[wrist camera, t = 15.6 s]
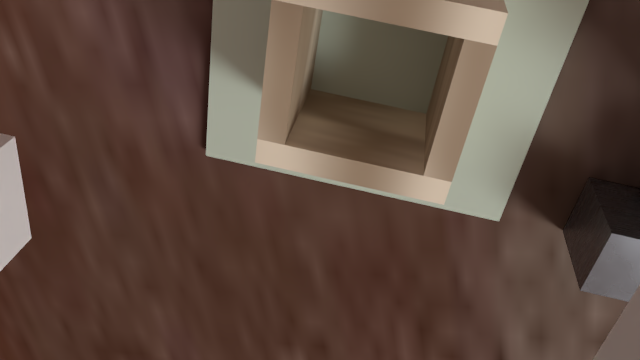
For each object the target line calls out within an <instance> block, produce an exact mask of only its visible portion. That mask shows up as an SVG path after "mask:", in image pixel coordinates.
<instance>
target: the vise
mask: <svg viewBox="0 0 640 360" xmlns="http://www.w3.org/2000/svg"><path fill="white" fill-rule="evenodd" d="M563 233H564V237H565V240H566V244H567V247H568V251H569V254H570V257H571V261H572V264H573V268H574V271H575V275H576V278H577V281H578V285H579V288H580V291H585V292H589V293H593V294H598V295H602V296H606V297H611V298H615V299H619V300H624V301H628V302H629V301H630V299H631V298H632V296H633V294H634V293H635V291H636V290H637V288H638V286H639V285H640V188H635V187H631V186H626V185H622V184H617V183H612V182H608V181H603V180H599V179H594V178H590V177H589V179H588V181H587V183H586V185H585V187H584V189H583V191H582V193H581V195H580V197H579V199H578V201H577V203H576V205H575V207H574V209H573V211H572V213H571V215H570V217H569V219H568V221H567V223H566V225H565V227H564V229H563Z"/></svg>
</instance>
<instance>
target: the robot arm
mask: <svg viewBox="0 0 640 360" xmlns="http://www.w3.org/2000/svg"><path fill="white" fill-rule="evenodd" d="M30 239H31V232H30V226H29V220H28V214H27V207H26V201H25V195H24V189H23V183H22V177H21V171H20V165H19V158H18V152H17V146H16V140H15V137H14V136H10V135H5V134H1V133H0V271H1V270H2V269H3V268H4V267H5V266H6V265H7V264H8V262H9V261H10V260H11V259H12V258H13V257H14V256H15V255H16V254H17V253H18V252H19V251H20V250H21V249H22V247H23V246H24V245H25V244H26V243H27V242H28V241H29V240H30ZM593 360H640V285H639V286H638V288H637V290H636V291H635V293H634V294H633V296H632V298H631V299H630V301H629V302H628V304H627V306H626V307H625V309H624V310H623V312H622V314H621V315H620V317H619V318H618V320H617V322H616V323H615V325H614V326H613V328H612V330H611V331H610V333H609V334H608V336H607V338H606V339H605V341H604V342H603V344H602V346H601V347H600V349H599V350H598V352H597V354H596V355H595V357H594V358H593Z"/></svg>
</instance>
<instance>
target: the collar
mask: <svg viewBox="0 0 640 360" xmlns="http://www.w3.org/2000/svg"><path fill="white" fill-rule="evenodd" d="M323 10H325V11H330V12H335V13H340V14H345V15H350V16H355V17H359V18H364V19H369V20H374V21H379V22H384V23H389V24H394V25H398V26H403V27H408V28H413V29H418V30H423V31H428V32H432V33H437V34H442V35H447V36H448V39H447V43H446V46H445V50H444V53H443V57H442V60H441V64H440V67H439V71H438V74H437V78H436V81H435V85H434V89H433V92H432V96H431V99H430V103H429V106H428V110H427V113H426V114H425V113H420V112H416V111H411V110H406V109H402V108H397V107H393V106H388V105H383V104H379V103H374V102H369V101H365V100H360V99H355V98H351V97H346V96H341V95H337V94H332V93H327V92H323V91H318V90H313V89H311V85H312V78H313V72H314V65H315V59H316V52H317V46H318V39H319V33H320V26H321V20H322V13H323ZM507 16H508V11H507V8H506V5H505V2H504V0H271V10H270V20H269V30H268V39H267V49H266V59H265V68H264V78H263V88H262V98H261V107H260V117H259V127H258V137H257V146H256V156H255V163H259V164H264V165H268V166H273V167H277V168H282V169H286V170H290V171H295V172H299V173H304V174H308V175H313V176H317V177H322V178H326V179H331V180H335V181H339V182H344V183H348V184H353V185H357V186H362V187H366V188H371V189H375V190H380V191H384V192H388V193H393V194H397V195H402V196H406V197H411V198H415V199H420V200H424V201H428V202H433V203H437V204H442V205H444V204H445V201H446V198H447V195H448V192H449V189H450V186H451V183H452V180H453V177H454V174H455V171H456V168H457V165H458V162H459V159H460V156H461V153H462V150H463V147H464V144H465V141H466V138H467V135H468V132H469V129H470V126H471V123H472V120H473V117H474V114H475V111H476V108H477V105H478V102H479V99H480V96H481V93H482V90H483V87H484V84H485V81H486V78H487V75H488V72H489V69H490V66H491V63H492V60H493V57H494V54H495V51H496V48H497V45H498V42H499V39H500V36H501V33H502V31H503V28H504V25H505V22H506V19H507Z"/></svg>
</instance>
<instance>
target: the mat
mask: <svg viewBox="0 0 640 360" xmlns="http://www.w3.org/2000/svg"><path fill="white" fill-rule="evenodd" d="M504 2H505V5H506V8H507V11H508V16H507V19H506V22H505V25H504V28H503V31H502V33H501V36H500V39H499V42H498V45H497V48H496V51H495V54H494V57H493V60H492V63H491V66H490V69H489V72H488V75H487V78H486V81H485V84H484V87H483V90H482V93H481V96H480V99H479V102H478V105H477V108H476V111H475V114H474V117H473V120H472V123H471V126H470V129H469V132H468V135H467V138H466V141H465V144H464V147H463V150H462V153H461V156H460V159H459V162H458V165H457V168H456V171H455V174H454V177H453V180H452V183H451V186H450V189H449V192H448V195H447V198H446V201H445V204H444V205H442V204H437V203H433V202H428V201H424V200H420V199H415V198H411V197H406V196H402V195H397V194H393V193H388V192H384V191H380V190H375V189H371V188H366V187H362V186H357V185H353V184H348V183H344V182H339V181H335V180H331V179H326V178H322V177H317V176H313V175H308V174H304V173H299V172H295V171H290V170H286V169H282V168H277V167H273V166H268V165H264V164H259V163H255V156H256V146H257V137H258V127H259V117H260V107H261V98H262V88H263V78H264V68H265V59H266V49H267V39H268V30H269V20H270V10H271V0H213V11H212V33H211V54H210V76H209V97H208V119H207V141H206V156H210V157H215V158H219V159H224V160H228V161H232V162H237V163H241V164H246V165H250V166H255V167H259V168H264V169H268V170H272V171H277V172H281V173H286V174H290V175H295V176H299V177H304V178H308V179H312V180H317V181H321V182H326V183H330V184H335V185H339V186H344V187H348V188H352V189H357V190H361V191H366V192H370V193H375V194H379V195H384V196H388V197H392V198H397V199H401V200H406V201H410V202H415V203H419V204H424V205H428V206H432V207H437V208H441V209H446V210H450V211H455V212H459V213H464V214H468V215H472V216H477V217H481V218H486V219H490V220H495V221H499V220H500V218H501V215H502V213H503V210H504V208H505V205H506V203H507V200H508V198H509V196H510V193H511V191H512V188H513V186H514V183H515V181H516V178H517V176H518V174H519V171H520V169H521V166H522V164H523V161H524V159H525V156H526V154H527V152H528V149H529V147H530V144H531V142H532V139H533V137H534V134H535V132H536V130H537V127H538V125H539V122H540V120H541V117H542V115H543V112H544V110H545V107H546V105H547V103H548V100H549V98H550V95H551V93H552V90H553V88H554V85H555V83H556V81H557V78H558V76H559V73H560V71H561V68H562V66H563V63H564V61H565V59H566V56H567V54H568V51H569V49H570V46H571V44H572V41H573V39H574V37H575V34H576V32H577V29H578V27H579V24H580V22H581V19H582V17H583V15H584V12H585V10H586V7H587V5H588V2H589V0H504ZM447 39H448V36H447V35H442V34H437V33H432V32H428V31H423V30H418V29H413V28H408V27H403V26H398V25H394V24H389V23H384V22H379V21H374V20H369V19H364V18H359V17H355V16H350V15H345V14H340V13H335V12H330V11H325V10H323V13H322V20H321V26H320V33H319V39H318V46H317V52H316V59H315V65H314V72H313V78H312V85H311V89H313V90H318V91H323V92H327V93H332V94H337V95H341V96H346V97H351V98H355V99H360V100H365V101H369V102H374V103H379V104H383V105H388V106H393V107H397V108H402V109H406V110H411V111H416V112H420V113H425V114H426V113H427V110H428V106H429V103H430V99H431V96H432V92H433V89H434V85H435V81H436V78H437V74H438V71H439V67H440V64H441V60H442V57H443V53H444V50H445V46H446V43H447Z"/></svg>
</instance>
